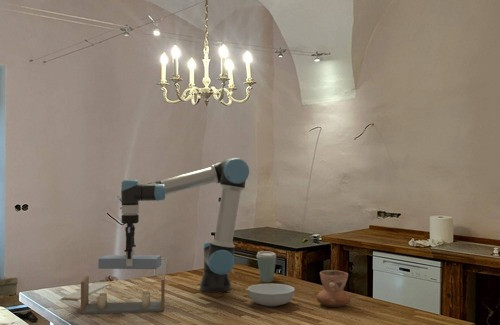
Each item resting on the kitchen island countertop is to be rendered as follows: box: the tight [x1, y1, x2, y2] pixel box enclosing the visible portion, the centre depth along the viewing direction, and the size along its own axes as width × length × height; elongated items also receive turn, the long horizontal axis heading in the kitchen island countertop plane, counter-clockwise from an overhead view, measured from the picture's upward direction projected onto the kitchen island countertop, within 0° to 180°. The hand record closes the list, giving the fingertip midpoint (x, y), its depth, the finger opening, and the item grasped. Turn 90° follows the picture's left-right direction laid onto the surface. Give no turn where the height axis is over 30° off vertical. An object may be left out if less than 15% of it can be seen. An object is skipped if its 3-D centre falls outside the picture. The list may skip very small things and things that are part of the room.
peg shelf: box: [80, 273, 166, 315], centre depth 217 cm, size 12×33×13 cm, turn 99°
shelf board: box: [97, 254, 162, 270], centre depth 231 cm, size 9×26×4 cm, turn 86°
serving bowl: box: [247, 283, 296, 307], centre depth 227 cm, size 21×21×7 cm
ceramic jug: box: [316, 269, 351, 308], centre depth 226 cm, size 18×14×14 cm
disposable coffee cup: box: [256, 250, 277, 283], centre depth 271 cm, size 11×11×15 cm
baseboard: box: [60, 279, 111, 301], centre depth 246 cm, size 30×3×10 cm
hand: (130, 263), depth 231 cm, fingers closed on shelf board, 10 cm apart
